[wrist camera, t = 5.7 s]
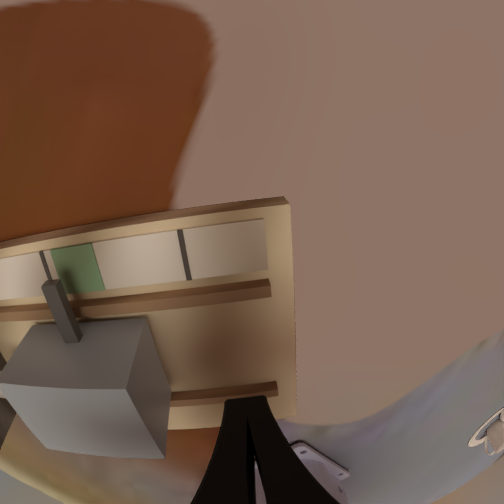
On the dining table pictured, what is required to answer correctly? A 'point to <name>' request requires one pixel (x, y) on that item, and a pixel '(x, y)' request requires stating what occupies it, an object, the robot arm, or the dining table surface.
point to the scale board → (173, 298)
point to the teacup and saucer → (492, 434)
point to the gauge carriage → (90, 384)
